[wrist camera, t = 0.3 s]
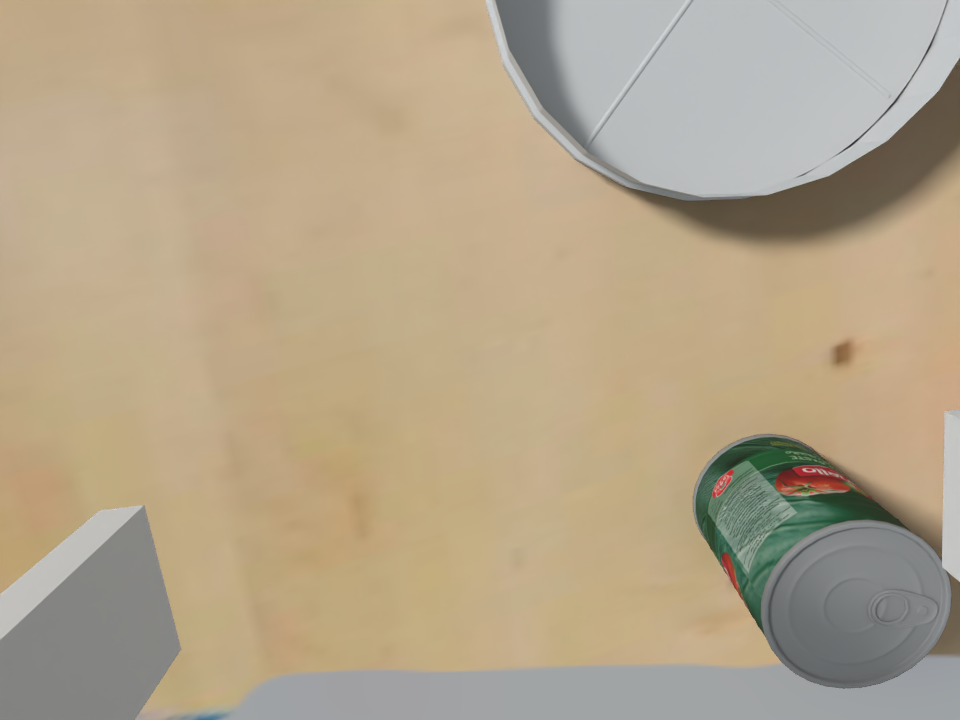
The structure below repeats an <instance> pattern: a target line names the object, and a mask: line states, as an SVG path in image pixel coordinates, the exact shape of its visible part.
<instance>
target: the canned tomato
mask: <svg viewBox="0 0 960 720" xmlns="http://www.w3.org/2000/svg"><path fill="white" fill-rule="evenodd" d="M693 512H694V517H695V521H696V524H697V526H698V529H699V531H700V533H701V535H702V536H703V537H704V539H705V540H706V541H707V543H708V544H709V546H710V548H711V550H712V551H713V552H714V555H715V556H716V558H717V559H718V561H719V563H720V565H721V566H722V567H723V569H724V571H725V573H726V574H727V575H728V577H729V579H730V581H731V582H732V583H733V585H734V587H735V589H736V590H737V592H738V593H739V595H740V597H741V599H742V600H743V601H744V603H745V605H746V607H747V608H748V609H749V611H750V613H751V615H752V617H753V618H754V619H755V621H756V623H757V625H758V627H759V628H760V629H761V630H762V632H763V634H764V635H765V637H766V639H767V641H768V643H769V645H770V647H771V649H772V651H773V652H774V653H775V654H776V656H777V657H778V658H779V660H780V661H781V662H782V663H783V664H784V665H785V666H787V667H788V668H789V669H790V670H791V671H793V672H794V673H795V674H797V675H799V676H801V677H802V678H804V679H806V680H808V681H810V682H813V683H817V684H820V685H823V686H827V687H836V688H862V687H866V686H871V685H876V684H880V683H882V682H885V681H888V680H890V679H893V678H895V677H897V676H899V675H901V674H902V673H904V672H906V671H907V670H909V669H911V668H912V667H913V666H915V665H916V664H917V663H918V662H919V661H921V660H922V659H923V658H924V657H925V656H926V655H927V654H928V653H929V652H930V650H931V649H932V648H933V647H934V645H935V644H936V643H937V641H938V640H939V638H940V636H941V634H942V632H943V631H944V629H945V627H946V624H947V620H948V617H949V614H950V610H951V599H952V592H951V585H950V578H949V576H948V573H947V571H946V570H945V569H944V568H943V567H942V560H941V559H940V557H939V556H938V555H937V553H936V552H935V550H934V549H933V548H932V547H931V546H930V545H929V544H928V543H926V542H925V541H924V540H923V539H922V538H921V537H919V536H918V535H916V534H914V533H912V532H911V531H910V530H909V529H908V528H907V527H905V526H904V525H903V524H902V523H901V522H900V521H899V520H898V519H896V518H895V517H893V516H892V515H891V514H890V513H889V512H888V511H886V510H885V509H884V508H883V507H881V506H880V505H879V504H878V503H876V502H875V501H874V500H873V499H872V498H871V497H870V496H868V495H867V494H865V493H864V492H863V491H862V490H861V489H859V488H858V487H857V486H856V485H855V484H854V483H852V482H851V481H850V480H849V479H847V478H846V477H845V476H843V475H842V474H841V473H840V472H839V471H838V470H836V469H835V468H834V467H833V466H832V465H830V464H829V463H828V462H827V461H825V460H824V459H823V458H821V457H820V456H819V455H818V454H817V453H816V452H815V451H814V450H813V449H812V448H811V447H809V446H807V445H806V444H804V443H802V442H800V441H799V440H796V439H793V438H790V437H787V436H783V435H775V434H763V435H754V436H750V437H746V438H743V439H740V440H738V441H736V442H734V443H731V444H729V445H728V446H726V447H725V448H724V449H722V450H721V451H719V452H718V453H717V454H716V455H715V456H714V457H713V458H712V459H711V460H710V461H709V462H708V463H707V465H706V466H705V468H704V469H703V471H702V472H701V474H700V476H699V478H698V481H697V483H696V485H695V490H694V495H693Z"/></svg>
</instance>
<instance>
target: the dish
mask: <svg viewBox="0 0 960 720" xmlns="http://www.w3.org/2000/svg"><path fill="white" fill-rule="evenodd" d="M486 8H487V12H488V15H489V19H490V22H491V26H492V29H493V33H494V36H495V40H496V43H497V47H498V50H499V54H500V57H501V60H502V64H503V67H504V69H505V71H506V72H507V74H508V76H509V78H510V79H511V81H512V83H513V84H514V86H515V88H516V90H517V91H518V93H519V95H520V96H521V98H522V100H523V101H524V103H525V105H526V107H527V108H528V110H529V112H530V113H531V115H532V117H533V119H534V120H535V121H536V122H537V123H538V124H539V125H540V126H541V127H542V128H543V129H544V130H545V131H546V132H547V133H548V134H549V135H550V136H551V137H552V138H553V139H554V140H555V141H556V142H557V143H559V144H560V145H561V146H562V147H563V148H564V149H565V150H566V151H567V152H568V153H569V154H570V155H571V156H572V157H573V158H574V159H575V160H577V161H578V162H580V163H582V164H584V165H586V166H588V167H589V168H591V169H593V170H595V171H597V172H598V173H600V174H602V175H604V176H606V177H608V178H609V179H611V180H613V181H615V182H617V183H618V184H620V185H622V186H625V187H629V188H633V189H637V190H641V191H646V192H650V193H654V194H658V195H663V196H667V197H671V198H675V199H680V200H685V201H697V200H724V199H746V198H749V197H753V196H760V195H769V194H772V193H776V192H779V191H782V190H785V189H789V188H792V187H795V186H798V185H801V184H805V183H808V182H811V181H814V180H818V179H821V178H824V177H827V176H830V175H831V174H833V173H835V172H836V171H838V170H840V169H841V168H843V167H845V166H846V165H848V164H850V163H851V162H853V161H855V160H856V159H858V158H860V157H861V156H863V155H865V154H866V153H868V152H870V151H871V150H873V149H875V148H876V147H878V146H880V145H881V144H883V143H885V142H886V141H888V140H889V139H890V138H891V137H892V136H893V135H894V134H895V133H896V132H897V131H898V130H899V129H900V128H901V127H902V126H903V125H904V124H905V123H906V122H907V121H908V120H909V119H910V118H911V117H912V116H913V115H914V114H915V113H916V112H918V111H919V110H920V109H921V108H922V107H923V106H924V105H925V104H926V103H927V102H928V101H929V100H930V99H931V98H932V97H933V96H934V95H935V94H936V93H937V92H938V91H939V89H940V88H941V86H942V85H943V83H944V81H945V80H946V78H947V77H948V75H949V74H950V72H951V70H952V69H953V67H954V66H955V64H956V63H957V61H958V60H959V58H960V0H486Z"/></svg>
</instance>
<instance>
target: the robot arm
mask: <svg viewBox="0 0 960 720" xmlns="http://www.w3.org/2000/svg"><path fill="white" fill-rule="evenodd" d="M942 567H943V568H944V569H945V570H946V571H947V572H949V573H950V574H951V575H952V576H953V577H954V578H956V579H957V580H958V581H959V582H960V410H953V411H945V433H944V485H943V536H942ZM180 650H181V647H180V643H179V639H178V635H177V631H176V627H175V623H174V619H173V616H172V612H171V608H170V604H169V600H168V596H167V592H166V588H165V584H164V580H163V577H162V573H161V569H160V565H159V561H158V557H157V553H156V549H155V545H154V541H153V538H152V534H151V530H150V526H149V522H148V518H147V514H146V510H145V506H144V505H142V506H134V507H125V508H116V509H108V510H100V511H99V512H97V513H96V514H95V515H94V516H93V517H91V518H90V519H89V520H88V521H87V522H85V523H84V524H83V525H82V526H81V527H80V528H78V529H77V530H76V531H75V532H74V533H72V534H71V535H70V536H69V537H68V538H66V539H65V540H64V541H63V542H62V543H61V544H59V545H58V546H57V547H56V548H55V549H53V550H52V551H51V552H50V553H49V554H48V555H46V556H45V557H44V558H43V559H42V560H40V561H39V562H38V563H37V564H36V565H34V566H33V567H32V568H31V569H30V570H29V571H27V572H26V573H25V574H24V575H23V576H21V577H20V578H19V579H18V580H17V581H15V582H14V583H13V584H12V585H11V586H10V587H8V588H7V589H6V590H5V591H4V592H2V593H1V594H0V720H135V718H136V717H137V715H138V714H139V712H140V711H141V709H142V708H143V706H144V705H145V703H146V702H147V700H148V699H149V697H150V696H151V694H152V693H153V691H154V690H155V688H156V687H157V685H158V684H159V682H160V681H161V679H162V678H163V676H164V675H165V673H166V671H167V670H168V668H169V667H170V665H171V664H172V662H173V661H174V659H175V658H176V656H177V655H178V653H179V652H180Z"/></svg>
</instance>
